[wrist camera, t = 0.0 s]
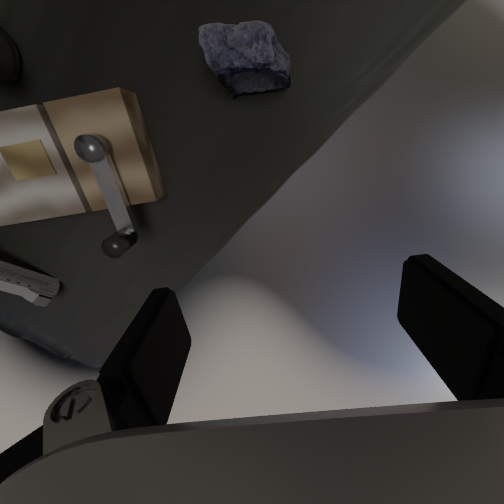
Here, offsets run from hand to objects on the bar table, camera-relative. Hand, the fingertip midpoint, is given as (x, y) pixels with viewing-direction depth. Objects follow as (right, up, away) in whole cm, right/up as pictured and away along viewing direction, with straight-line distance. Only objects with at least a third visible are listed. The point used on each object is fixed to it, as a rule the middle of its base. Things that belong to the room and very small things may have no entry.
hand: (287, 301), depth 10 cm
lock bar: (-21, +11, +25) cm, 34 cm away
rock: (-2, +26, +22) cm, 34 cm away
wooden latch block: (-29, +16, +28) cm, 43 cm away
